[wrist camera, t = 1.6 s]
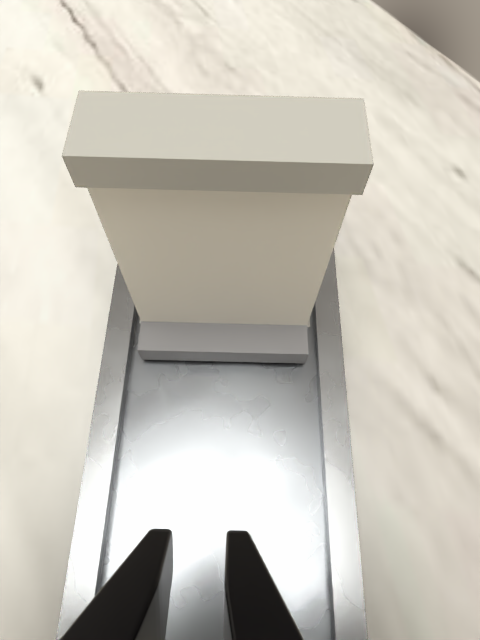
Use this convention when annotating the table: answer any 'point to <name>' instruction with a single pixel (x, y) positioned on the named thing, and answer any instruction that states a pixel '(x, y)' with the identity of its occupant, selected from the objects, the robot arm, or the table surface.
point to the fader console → (223, 476)
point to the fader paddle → (220, 211)
